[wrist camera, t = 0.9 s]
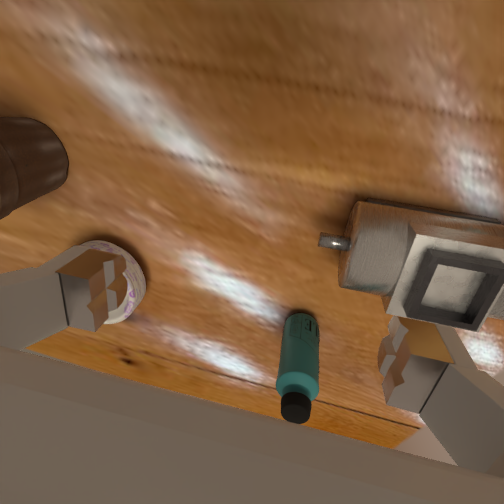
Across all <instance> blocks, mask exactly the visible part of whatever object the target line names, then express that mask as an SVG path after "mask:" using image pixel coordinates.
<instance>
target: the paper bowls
mask: <svg viewBox="0 0 504 504" xmlns="http://www.w3.org/2000/svg"><path fill="white" fill-rule="evenodd" d="M79 246H84V247H89V248H92V249H97V250H101V251H106V252H110V253H114V254H118V255H122V256H123V257H124V258H125V259H126V267H127V269H126V270H125V271H124V272H123V273H122V274H123V275H124V276H125V278H126V279H127V283H128V288H127V294H126V297H125V299H124V301H123V303H122V304H121V305H120V306H119V307H118V309H115V310H113V311H110V312H108V315H109V318H108V319H107V320H106V321H105V322H104V323H103V324H113V323H118V322H121V321H123V320H124V319H126V318H127V317H128V316H129V315H130V314H131V313H132V312H133V311H134V309H135V308H136V307H137V306H138V304H139V303H140V302H141V300H142V299H143V297H144V295H145V291H146V282H145V277H144V274H143V272H142V270H141V268H140V266H139V265H138V263H137V262H136V260H135V259H134V258H133V257H132V256H131V255H130V254H129V253H128V252H127V251H125V250H123V249H122V248H120V247H119V246H116V245H115V244H112V243H110V242H106V241H101V240H94V241H88V242H85V243H83V244H81V245H79Z"/></svg>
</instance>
